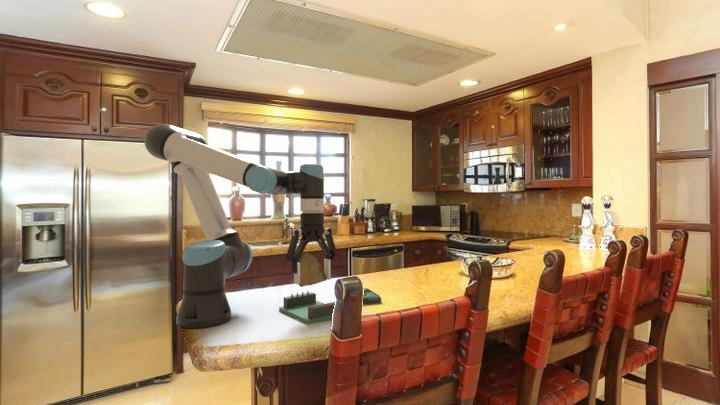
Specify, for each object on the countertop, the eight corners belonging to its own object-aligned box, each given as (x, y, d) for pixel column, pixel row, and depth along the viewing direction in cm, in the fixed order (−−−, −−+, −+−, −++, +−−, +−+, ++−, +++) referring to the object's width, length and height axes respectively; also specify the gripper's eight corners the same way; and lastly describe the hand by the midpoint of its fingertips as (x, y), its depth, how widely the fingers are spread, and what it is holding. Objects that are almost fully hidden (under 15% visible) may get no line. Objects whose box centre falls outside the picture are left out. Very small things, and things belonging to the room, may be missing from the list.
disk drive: (341, 297, 141) (354, 306, 127) (341, 290, 141) (354, 298, 127) (367, 295, 144) (382, 303, 130) (367, 287, 144) (382, 295, 130)
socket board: (308, 324, 106) (308, 306, 106) (279, 310, 120) (279, 295, 120) (346, 315, 115) (346, 298, 115) (315, 303, 129) (315, 288, 129)
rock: (324, 271, 126) (295, 269, 123) (330, 253, 121) (300, 250, 118) (327, 296, 117) (296, 294, 114) (334, 278, 112) (301, 275, 109)
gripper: (285, 213, 108) (285, 288, 107) (347, 211, 122) (348, 278, 122) (273, 212, 113) (274, 284, 113) (334, 211, 128) (335, 275, 128)
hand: (312, 281), depth 117 cm, fingers closed on rock, 11 cm apart
